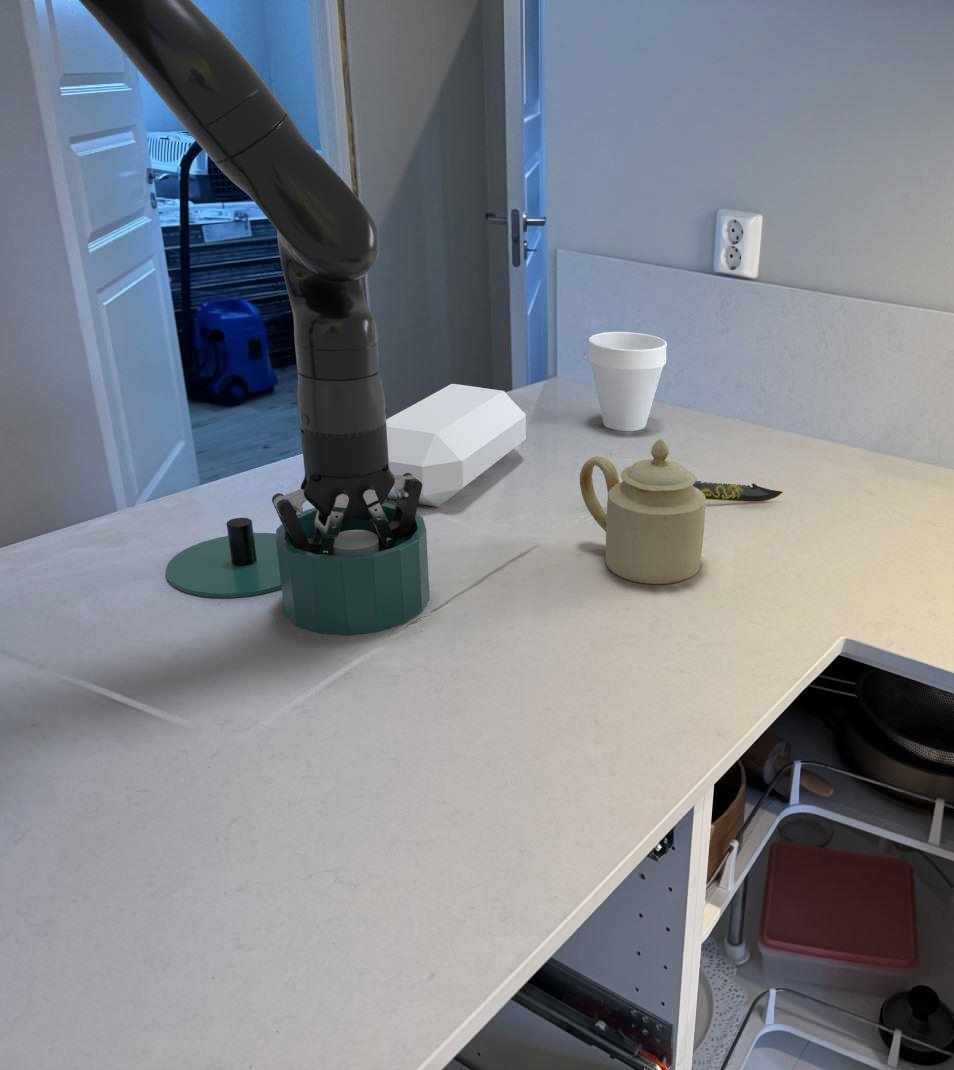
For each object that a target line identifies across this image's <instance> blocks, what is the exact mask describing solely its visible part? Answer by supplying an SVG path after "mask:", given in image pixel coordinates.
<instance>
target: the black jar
mask: <svg viewBox="0 0 954 1070" xmlns="http://www.w3.org/2000/svg"><path fill="white" fill-rule="evenodd" d="M375 552H379V539H378V536H377V535H376V534H375V533H373V532H370V531H365V530H349V531H343V532H339V535H338V537H336V538H335V542H334V546H333V549H332V553H331V555H333V556H352V555H363V554H371V553H375Z"/></svg>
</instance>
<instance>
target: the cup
mask: <svg viewBox="0 0 954 1070" xmlns="http://www.w3.org/2000/svg"><path fill="white" fill-rule="evenodd" d="M588 342H589V344H588V346H589V347H588V353H587V354H588V355H587V359H588V360H589V362H590V365H591V369H592V374H593V379H594V384H595V388H596V389H595V390H596V394H597V399H598V403H599V408H600V414H601V419H602V423H603V426H604V427H606V428H608V429H610V430H614V431H617V432H618V431H620V432H637V431H641V430H643V429H645V428H646V426H647V425H648V424H647V423H648V420H649V417H650V413H651V410H652V406H653V403H654V400H655V396H656V392H657V389H658V386H659V382H660V379H661V376H662V372H663V368H664V367H665V365H666V364H667V347H668V342H667V341H666V340H665V339H663V338H661V337H659V336H656V335H652V334H647V333H641V332H633V331H610V332H609V331H607V332H606V331H605V332H599V333H596V334H593V335H591V336H590V337H589V338H588Z"/></svg>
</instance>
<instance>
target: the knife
mask: <svg viewBox="0 0 954 1070" xmlns="http://www.w3.org/2000/svg"><path fill="white" fill-rule="evenodd" d="M693 486H694V487H696V488H697V489H699V490H700V491H702V493H703V494H704V495H705V497H706V501H707V500H708V501H725V502H742V503H763V502H768V501H771V500H773V499H776V498H777V497H780V496H781V495H782V494H783V493H784V491H782V490H774V489H770V488H766V487H764V486H763V487H762V486H760V485H757V484H756V483H751V485H750V484H749V485H748V484H747V485H746V484H735V483H723V482H707V481H703V482H702V481H701V480H697V481H696V482H695V483H694V484H693Z"/></svg>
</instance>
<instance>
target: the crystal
mask: <svg viewBox="0 0 954 1070" xmlns="http://www.w3.org/2000/svg"><path fill="white" fill-rule="evenodd" d="M386 427H387V443H388V459H389V469H390V471H391V473H392V474H393V475H400V476H403V474H405V473H411V474H412V475H413V476H414V477H415V478H417V479H418V480H419V481H420V482H421V483H422V490H421V494H420V499H419V503H418V505H424V506H429V507H436V508H439V507H441V506H442V505H443V504H444V503H445V502H447V501H449V500H450V499H451V498H452V497H453V496H455V495H457V493H458V492H460V491H461V490H462V489H464V488H465V487H466V486H468V485H469V484H470V483H472V482H473V481H474V480H475V479H477V478H478V477H479V476H480V475H482V474H483V473H485V472H486V471H487V470H489V469H490V468H491V467H492V466H494V465H495V464H496V463H498V462H499V461H500V460H501V459H502V458H504V457H505V456H507V454H509V453H510V452H511V451H513V450H514V449H515V448H517V447H518V446H519V445H520V444H522V443H523V442H525V441H526V439H527V415H526V413H525V412H524V411H523V410H522V409H521V408H520V407H519V406H518V405H517V403H516V402H515V401H514V400H513V399H512V398H511V397H510V396H509V395H508V393H506V391H505V390H500V389H493V388H488V387H487V388H484V387H479V386H472V385H465V384H457V383H451V384H448V385H447V386H445V387H443V388H441V389H439V390H438V391H436V392H434V393H432V394H430V395H429V396H426V397H425V398H423V399H421V400H419V401H418V402H415V403H414V404H412V405H411V406H409V407H407V408H404V409H403V410H401V411H399V412H398V413H395V414H394V415H392V416H390V417H388V418H386ZM397 496H398V495H396V494H395V492H394V486H393V488H392V489H391V491H390V492H389V494H388V496H387V497H386V499H387V500H393V501H396V500H397ZM386 499H385V500H386Z"/></svg>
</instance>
